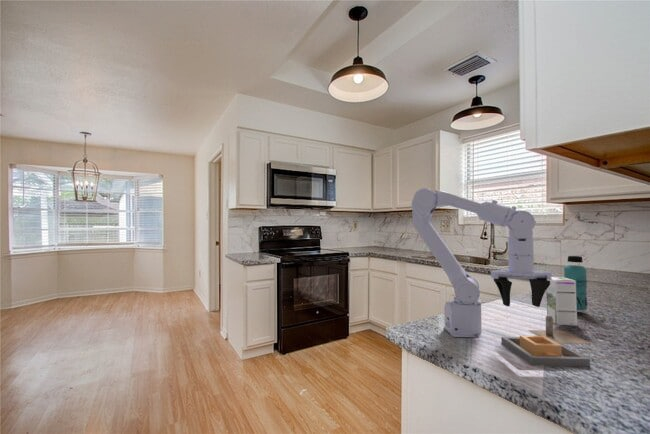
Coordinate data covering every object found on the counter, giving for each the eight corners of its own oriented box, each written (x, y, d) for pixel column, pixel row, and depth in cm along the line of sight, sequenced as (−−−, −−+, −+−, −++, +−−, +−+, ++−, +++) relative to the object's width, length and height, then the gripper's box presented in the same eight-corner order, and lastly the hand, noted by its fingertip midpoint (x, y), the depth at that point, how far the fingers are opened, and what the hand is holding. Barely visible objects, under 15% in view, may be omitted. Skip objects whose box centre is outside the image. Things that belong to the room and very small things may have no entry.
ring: (519, 347, 73) (519, 335, 73) (544, 348, 73) (543, 335, 73) (539, 361, 66) (539, 347, 66) (566, 362, 66) (566, 348, 66)
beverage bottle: (559, 310, 107) (558, 255, 108) (572, 309, 109) (571, 254, 110) (579, 315, 101) (578, 257, 102) (592, 314, 103) (591, 256, 104)
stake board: (550, 346, 76) (550, 321, 76) (528, 333, 85) (527, 311, 85) (591, 347, 75) (590, 322, 75) (564, 334, 84) (564, 312, 84)
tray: (532, 369, 64) (531, 357, 64) (501, 346, 76) (501, 336, 76) (590, 370, 63) (589, 359, 63) (550, 347, 75) (549, 337, 75)
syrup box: (578, 329, 89) (577, 280, 89) (555, 327, 90) (555, 279, 90) (566, 322, 94) (566, 276, 95) (545, 321, 95) (545, 276, 96)
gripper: (500, 256, 77) (500, 309, 77) (559, 257, 76) (560, 310, 75) (487, 253, 84) (487, 301, 84) (541, 254, 83) (541, 303, 82)
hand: (521, 305), depth 80 cm, fingers open, 7 cm apart
